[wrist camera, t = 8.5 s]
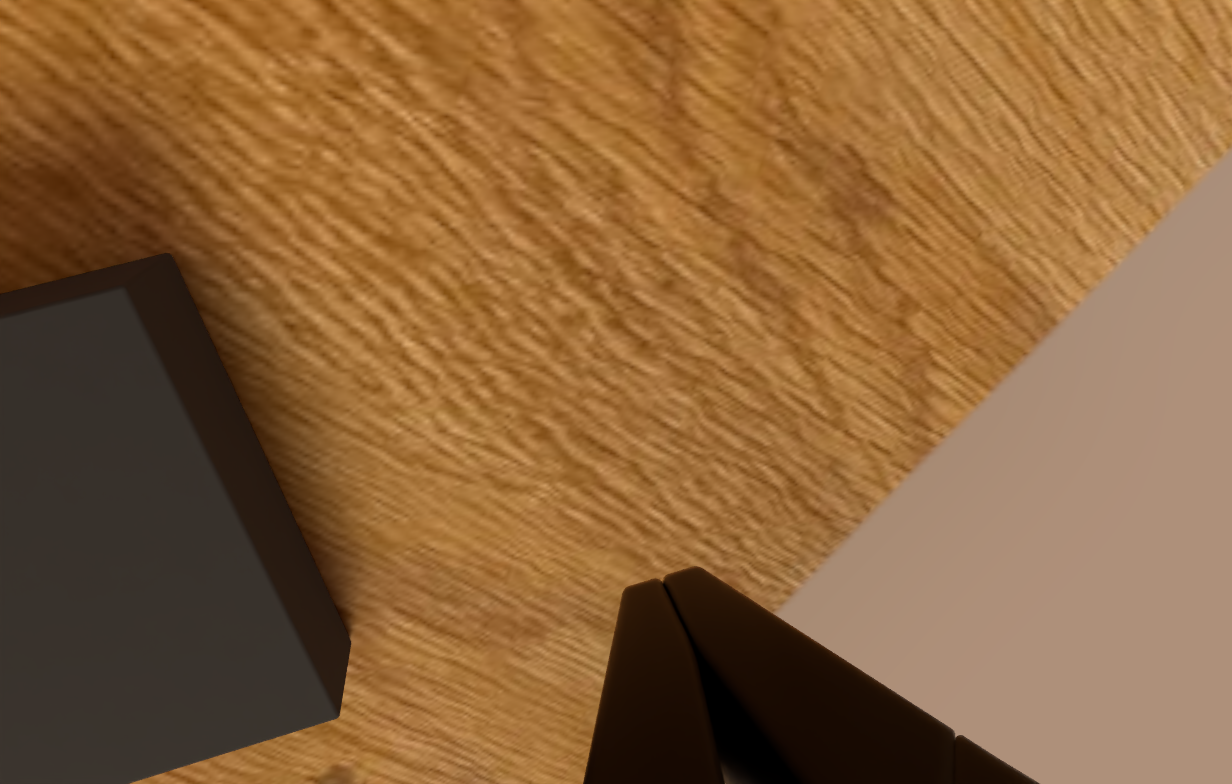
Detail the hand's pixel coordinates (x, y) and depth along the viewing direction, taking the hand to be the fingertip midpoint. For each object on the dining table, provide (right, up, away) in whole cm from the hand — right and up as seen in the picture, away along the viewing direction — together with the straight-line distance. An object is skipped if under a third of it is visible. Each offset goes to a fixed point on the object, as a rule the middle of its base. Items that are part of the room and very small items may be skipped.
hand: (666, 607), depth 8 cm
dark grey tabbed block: (-11, 0, +5) cm, 12 cm away
